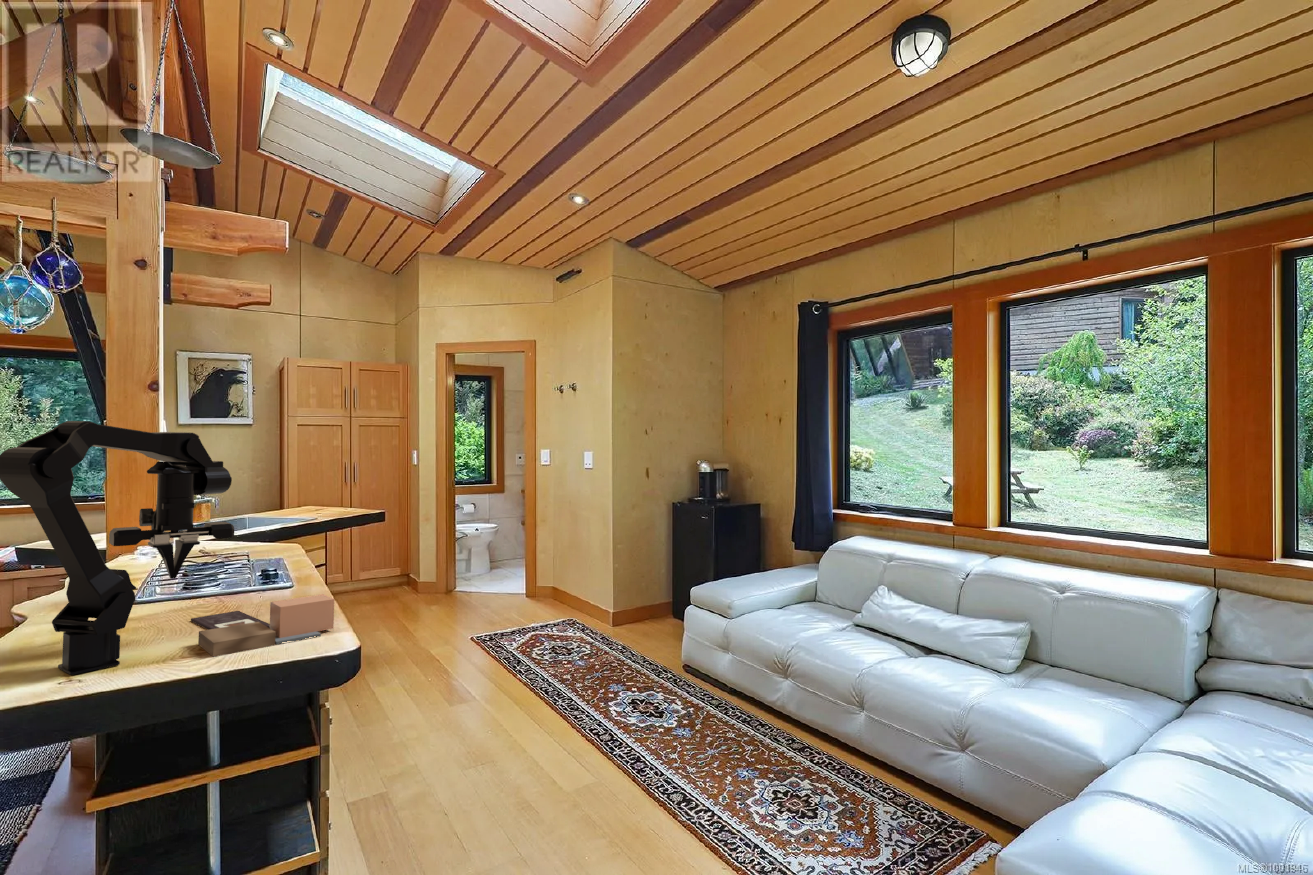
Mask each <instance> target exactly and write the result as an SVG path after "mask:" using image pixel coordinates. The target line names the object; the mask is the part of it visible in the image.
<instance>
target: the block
mask: <svg viewBox="0 0 1313 875" xmlns="http://www.w3.org/2000/svg"><path fill="white" fill-rule="evenodd" d="M269 606H270V607H269V624H270V629H272V630H273V631H275V632H276V636H277V637H279V638H283V637H289V636H294V635H300V634H305V633H311V632H316V631H317V632H320V631H326V630H331V629H334V628H335V627H334V626H335V625H334V624H335V622H334V620H335V598H333V597H331V596H328V595H326V594H323V593H322V594H316V595H315V594H314V595H308V596H300V597H293V598H287V599H280V600H273V601H270V605H269Z"/></svg>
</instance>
